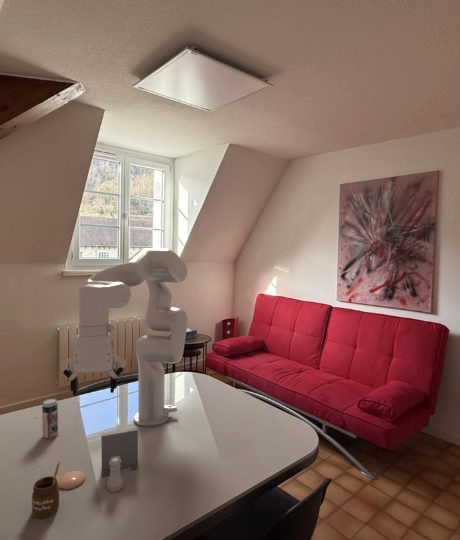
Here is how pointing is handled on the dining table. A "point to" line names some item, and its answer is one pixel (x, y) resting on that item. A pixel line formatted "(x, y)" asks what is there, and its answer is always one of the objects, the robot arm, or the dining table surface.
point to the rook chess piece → (115, 475)
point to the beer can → (50, 418)
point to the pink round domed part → (71, 479)
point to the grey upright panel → (120, 449)
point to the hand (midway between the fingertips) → (94, 392)
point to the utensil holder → (45, 495)
